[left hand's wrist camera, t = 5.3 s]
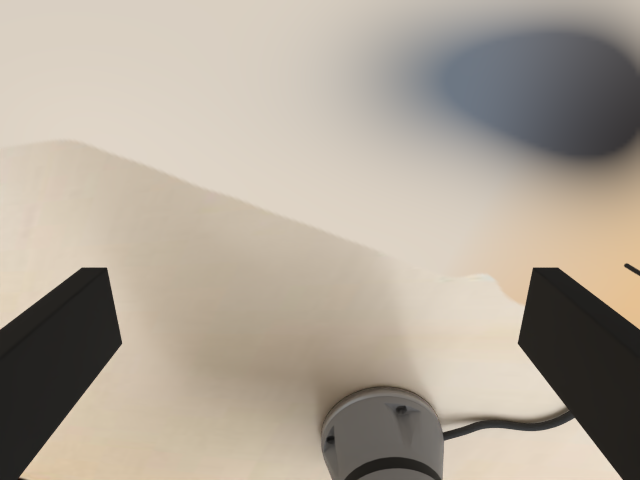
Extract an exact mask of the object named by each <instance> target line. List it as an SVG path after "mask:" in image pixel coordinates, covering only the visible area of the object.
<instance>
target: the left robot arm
mask: <svg viewBox="0 0 640 480" xmlns="http://www.w3.org/2000/svg"><path fill="white" fill-rule="evenodd" d="M624 267H625V268H627V269H629V270H630V271H632V272H634V273H635V274H637V275H639V276H640V270H638V269H636V268H635V267H633V266H631V265H630V264H628V263H626V264H624ZM121 344H122V340H121V335H120V330H119V325H118V320H117V315H116V310H115V305H114V300H113V295H112V290H111V286H110V281H109V276H108V271H107V268H81V269H80V270H78V271H77V272H76V273H74V274H73V275H72V276H70V277H69V278H68V279H66V280H65V281H64V282H63V283H61V284H60V285H59V286H57V287H56V288H55V289H53V290H52V291H51V292H49V293H48V294H47V295H45V296H44V297H43V298H41V299H40V300H39V301H37V302H36V303H35V304H34V305H32V306H31V307H30V308H28V309H27V310H26V311H24V312H23V313H22V314H20V315H19V316H18V317H16V318H15V319H14V320H12V321H11V322H10V323H8V324H7V325H6V326H5V327H3V328H2V329H1V330H0V480H17V479H18V478H19V477H20V475H21V474H22V473H23V471H24V470H25V469H26V468H27V466H28V465H29V464H30V462H31V461H32V460H33V458H34V457H35V456H36V455H37V453H38V452H39V451H40V449H41V448H42V447H43V445H44V444H45V443H46V442H47V440H48V439H49V438H50V436H51V435H52V434H53V433H54V431H55V430H56V429H57V427H58V426H59V425H60V423H61V422H62V421H63V420H64V418H65V417H66V416H67V414H68V413H69V412H70V410H71V409H72V408H73V407H74V405H75V404H76V403H77V401H78V400H79V399H80V398H81V396H82V395H83V394H84V392H85V391H86V390H87V388H88V387H89V386H90V385H91V383H92V382H93V381H94V379H95V378H96V377H97V375H98V374H99V373H100V372H101V370H102V369H103V368H104V366H105V365H106V364H107V363H108V361H109V360H110V359H111V357H112V356H113V355H114V353H115V352H116V351H117V350H118V348H119V347H120V346H121ZM518 344H519V346H520V347H521V348H522V350H523V351H524V352H525V353H526V355H527V356H528V357H529V359H530V360H531V361H532V363H533V364H534V365H535V366H536V368H537V369H538V370H539V372H540V373H541V374H542V375H543V377H544V378H545V379H546V381H547V382H548V383H549V385H550V386H551V387H552V388H553V390H554V391H555V392H556V394H557V395H558V396H559V398H560V399H561V400H562V401H563V403H564V404H565V405H566V407H567V408H568V409H569V410H570V411H568V412H567V413H565V414H563V415H561V416H559V417H557V418H555V419H552V420H549V421H545V422H540V423H531V424H527V423H516V422H508V421H498V420H488V421H480V422H476V423H473V424H470V425H467V426H464V427H461V428H458V429H454V430H451V431H447V432H442V428H441V425H440V422H439V420H438V417H437V415H436V413H435V411H434V410H433V408H432V407H431V406H430V405H429V404H428V403H427V402H426V401H425V400H424V399H422V398H421V397H419V396H418V395H416V394H414V393H412V392H409V391H406V390H403V389H399V388H392V387H375V388H369V389H365V390H361V391H358V392H356V393H353V394H351V395H349V396H347V397H346V398H344V399H342V400H341V401H340V402H338V403H337V404H336V405H335V406H334V407H333V408H332V409H331V411H330V412H329V413H328V415H327V417H326V418H325V421H324V423H323V427H322V452H323V456H324V460H325V463H326V465H327V468H328V470H329V473H330V475H331V478H332V480H442V479H443V454H444V441H445V440H448V439H452V438H455V437H459V436H462V435H466V434H469V433H472V432H474V431H477V430H480V429H485V428H506V429H514V430H522V431H540V430H546V429H550V428H554V427H557V426H559V425H562V424H564V423H566V422H568V421H570V420H572V419H573V418H576V420H577V421H578V422H579V423H580V425H581V426H582V427H583V429H584V430H585V431H586V433H587V434H588V435H589V436H590V438H591V439H592V440H593V442H594V443H595V444H596V445H597V447H598V448H599V449H600V451H601V452H602V453H603V455H604V456H605V457H606V458H607V460H608V461H609V462H610V464H611V465H612V466H613V468H614V469H615V470H616V471H617V473H618V474H619V475H620V477H621V478H622V479H623V480H640V330H639V329H638V328H637V327H635V326H634V325H633V324H631V323H630V322H629V321H628V320H626V319H625V318H624V317H622V316H621V315H620V314H618V313H617V312H616V311H614V310H613V309H612V308H610V307H609V306H608V305H606V304H605V303H604V302H603V301H601V300H600V299H599V298H597V297H596V296H595V295H593V294H592V293H591V292H589V291H588V290H587V289H585V288H584V287H583V286H581V285H580V284H579V283H577V282H576V281H575V280H574V279H572V278H571V277H570V276H568V275H567V274H566V273H564V272H563V271H562V270H560V269H559V268H533V271H532V276H531V281H530V286H529V290H528V295H527V300H526V305H525V310H524V315H523V320H522V325H521V330H520V335H519V340H518Z"/></svg>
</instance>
